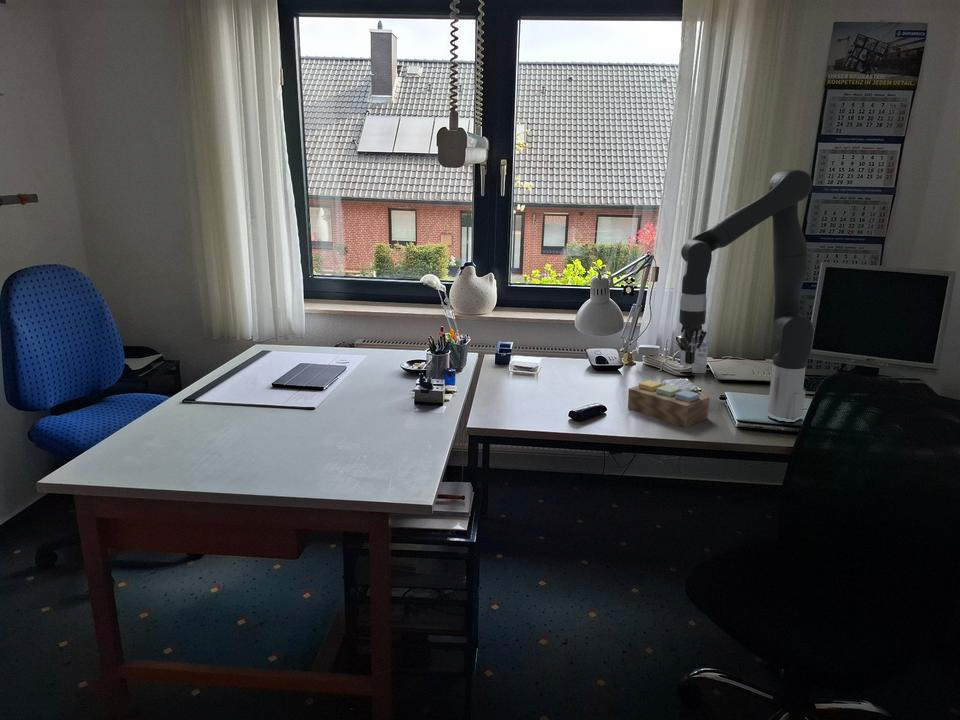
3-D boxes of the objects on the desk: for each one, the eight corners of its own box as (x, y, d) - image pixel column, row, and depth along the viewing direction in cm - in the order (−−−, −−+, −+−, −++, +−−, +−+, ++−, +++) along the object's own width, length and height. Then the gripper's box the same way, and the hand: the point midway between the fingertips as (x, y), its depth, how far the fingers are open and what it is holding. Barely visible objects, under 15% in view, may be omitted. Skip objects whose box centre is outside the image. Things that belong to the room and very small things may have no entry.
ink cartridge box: (704, 369, 259) (707, 333, 255) (706, 373, 253) (709, 337, 250) (678, 368, 261) (681, 333, 257) (679, 372, 255) (682, 336, 251)
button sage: (678, 409, 212) (680, 388, 210) (668, 413, 209) (670, 392, 207) (665, 405, 216) (666, 384, 214) (655, 408, 213) (656, 388, 211)
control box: (707, 418, 208) (709, 397, 206) (684, 427, 201) (686, 405, 199) (650, 400, 225) (651, 381, 223) (627, 408, 218) (628, 388, 216)
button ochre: (660, 403, 218) (662, 383, 216) (650, 407, 214) (652, 386, 213) (648, 399, 221) (649, 379, 220) (638, 403, 218) (639, 383, 216)
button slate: (697, 415, 207) (699, 393, 205) (687, 419, 204) (689, 397, 202) (683, 410, 211) (685, 389, 209) (673, 414, 208) (675, 393, 206)
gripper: (690, 312, 191) (687, 370, 196) (716, 306, 199) (712, 361, 204) (668, 309, 197) (666, 365, 202) (695, 303, 205) (691, 357, 210)
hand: (689, 363), depth 203 cm, fingers closed
